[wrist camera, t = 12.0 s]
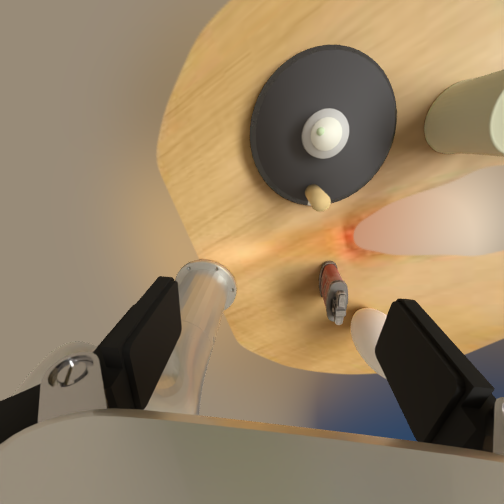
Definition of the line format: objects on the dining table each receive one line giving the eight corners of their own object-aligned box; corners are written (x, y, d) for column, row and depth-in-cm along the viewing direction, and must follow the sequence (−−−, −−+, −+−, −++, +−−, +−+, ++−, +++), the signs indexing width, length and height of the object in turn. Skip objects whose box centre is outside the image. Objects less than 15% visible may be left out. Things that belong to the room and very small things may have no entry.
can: (478, 61, 31) (589, 18, 20) (507, 119, 33) (621, 108, 22) (411, 118, 34) (476, 107, 23) (442, 167, 36) (514, 178, 26)
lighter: (334, 296, 48) (349, 332, 39) (317, 296, 48) (328, 332, 39) (338, 260, 44) (355, 290, 35) (320, 260, 45) (332, 291, 36)
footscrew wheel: (414, 142, 34) (455, 142, 27) (305, 222, 40) (313, 241, 33) (342, 13, 29) (367, -33, 21) (230, 128, 35) (218, 124, 28)
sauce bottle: (341, 327, 51) (373, 414, 35) (347, 297, 48) (386, 377, 31) (378, 329, 50) (429, 418, 34) (387, 298, 47) (448, 381, 31)
